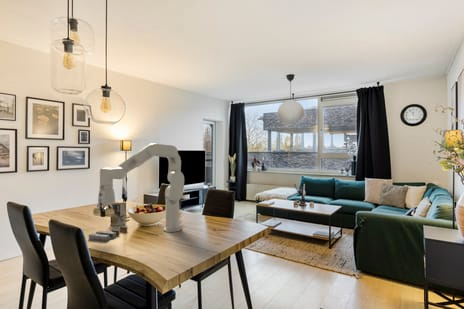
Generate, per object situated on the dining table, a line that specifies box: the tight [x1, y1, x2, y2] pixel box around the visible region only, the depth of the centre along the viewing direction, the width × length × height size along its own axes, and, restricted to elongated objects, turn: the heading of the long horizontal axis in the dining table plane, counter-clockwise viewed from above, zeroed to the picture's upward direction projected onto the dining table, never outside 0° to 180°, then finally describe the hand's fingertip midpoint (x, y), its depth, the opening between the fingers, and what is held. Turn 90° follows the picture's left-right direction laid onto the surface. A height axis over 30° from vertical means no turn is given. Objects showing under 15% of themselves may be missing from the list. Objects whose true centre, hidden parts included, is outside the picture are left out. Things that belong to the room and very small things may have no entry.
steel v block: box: [88, 230, 117, 242], centre depth 165 cm, size 9×13×3 cm
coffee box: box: [110, 202, 127, 227], centre depth 196 cm, size 9×6×16 cm
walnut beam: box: [111, 225, 128, 237], centre depth 175 cm, size 9×5×4 cm, turn 165°
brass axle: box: [92, 207, 114, 218], centre depth 164 cm, size 5×12×5 cm, turn 75°
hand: (106, 215), depth 164 cm, fingers closed on brass axle, 5 cm apart
